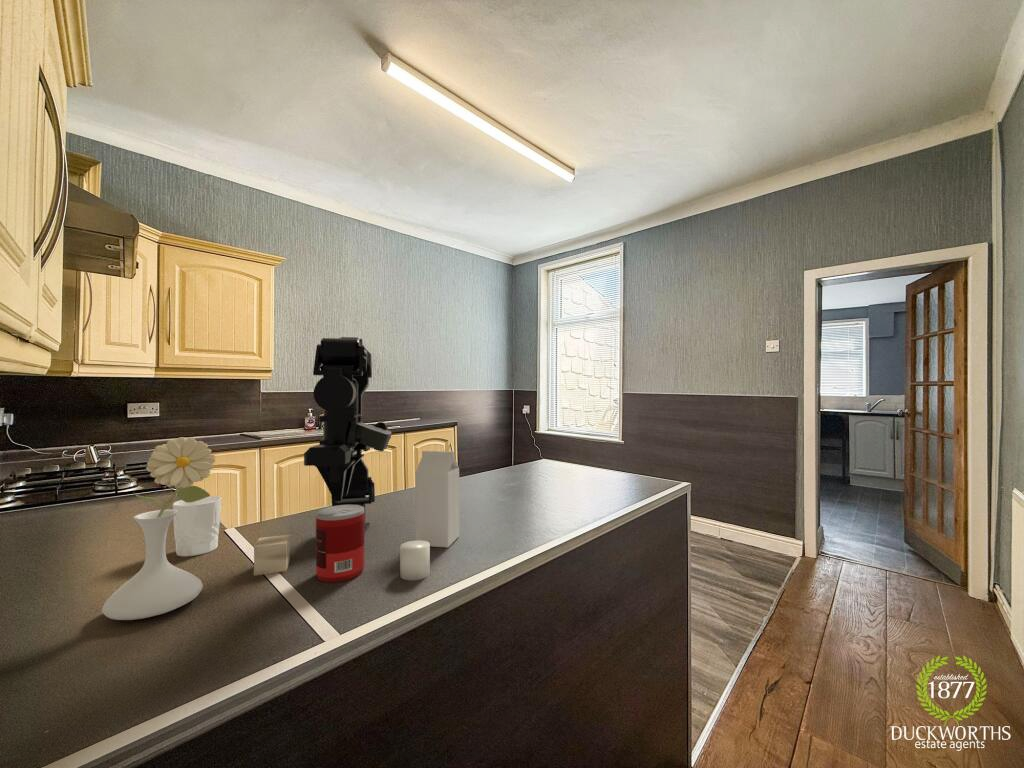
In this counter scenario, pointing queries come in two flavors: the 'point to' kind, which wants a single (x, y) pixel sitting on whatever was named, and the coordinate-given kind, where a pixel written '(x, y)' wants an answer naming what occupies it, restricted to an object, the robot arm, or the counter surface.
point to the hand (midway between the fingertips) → (340, 498)
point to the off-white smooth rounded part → (414, 560)
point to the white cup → (197, 526)
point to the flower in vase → (163, 536)
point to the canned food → (340, 542)
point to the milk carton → (437, 498)
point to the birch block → (271, 554)
